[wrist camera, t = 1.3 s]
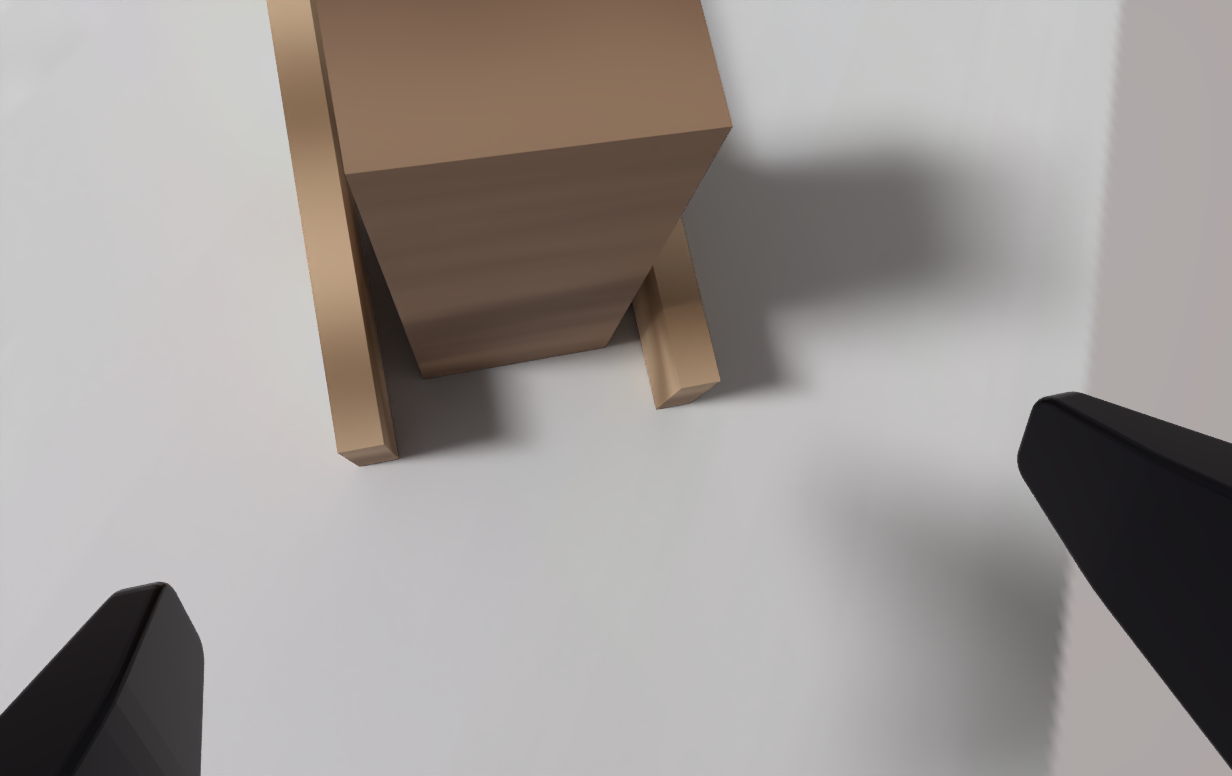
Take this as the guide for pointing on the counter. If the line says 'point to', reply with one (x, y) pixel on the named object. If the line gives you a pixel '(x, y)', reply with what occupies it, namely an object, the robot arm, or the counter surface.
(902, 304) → the counter surface
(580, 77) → the tall brown box
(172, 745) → the robot arm
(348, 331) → the wooden u-shaped frame
